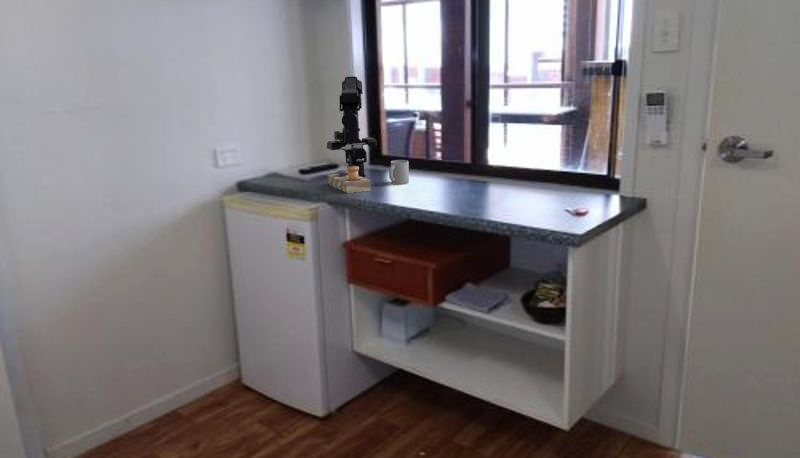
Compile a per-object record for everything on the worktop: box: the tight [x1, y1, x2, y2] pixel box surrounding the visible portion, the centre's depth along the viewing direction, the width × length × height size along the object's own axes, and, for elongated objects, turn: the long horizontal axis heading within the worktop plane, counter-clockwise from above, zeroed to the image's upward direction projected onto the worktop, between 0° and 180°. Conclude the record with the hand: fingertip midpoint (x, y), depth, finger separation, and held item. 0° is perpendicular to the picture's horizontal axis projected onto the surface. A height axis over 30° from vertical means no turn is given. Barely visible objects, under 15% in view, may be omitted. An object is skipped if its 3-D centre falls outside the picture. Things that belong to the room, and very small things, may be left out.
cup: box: [388, 159, 410, 186], centre depth 252 cm, size 7×10×9 cm
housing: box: [327, 173, 372, 194], centre depth 248 cm, size 20×10×4 cm, turn 27°
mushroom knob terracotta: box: [346, 166, 359, 181], centre depth 242 cm, size 5×5×6 cm
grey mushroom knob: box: [337, 169, 348, 177], centre depth 252 cm, size 5×5×6 cm
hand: (352, 165), depth 241 cm, fingers closed
